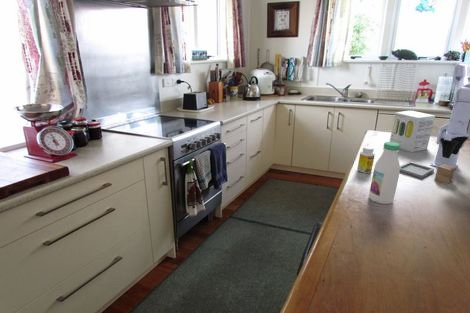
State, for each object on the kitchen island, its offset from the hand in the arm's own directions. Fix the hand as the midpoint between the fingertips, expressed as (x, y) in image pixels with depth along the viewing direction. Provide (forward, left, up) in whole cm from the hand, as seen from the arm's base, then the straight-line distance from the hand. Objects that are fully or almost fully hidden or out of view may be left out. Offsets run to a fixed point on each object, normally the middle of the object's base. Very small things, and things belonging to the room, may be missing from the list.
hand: (449, 155), depth 120 cm
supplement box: (-33, -28, -11) cm, 45 cm away
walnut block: (0, 0, -11) cm, 11 cm away
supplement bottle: (+16, -24, -11) cm, 31 cm away
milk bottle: (+35, -7, -11) cm, 37 cm away
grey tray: (-1, -11, -11) cm, 15 cm away
